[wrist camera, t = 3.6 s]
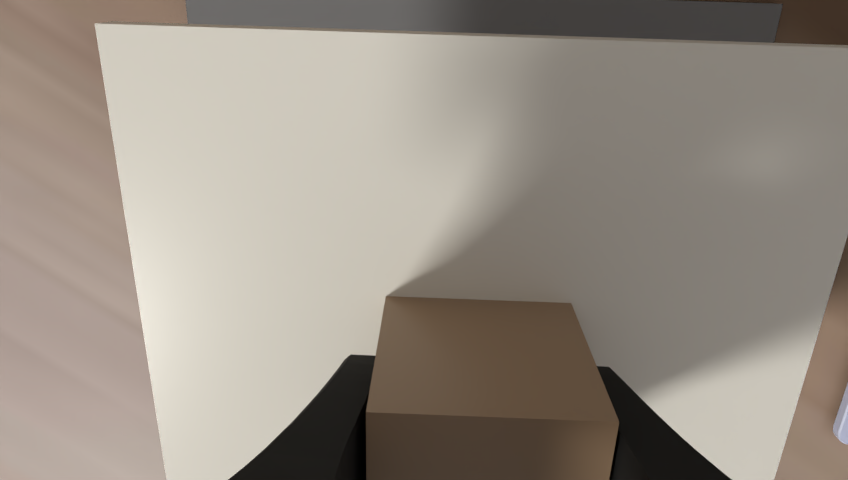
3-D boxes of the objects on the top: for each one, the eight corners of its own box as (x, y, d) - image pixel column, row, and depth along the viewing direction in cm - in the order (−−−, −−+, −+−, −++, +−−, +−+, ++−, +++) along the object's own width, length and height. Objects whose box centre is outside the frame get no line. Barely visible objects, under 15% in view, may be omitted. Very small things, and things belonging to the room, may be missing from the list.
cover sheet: (880, 46, 11) (1120, 82, 7) (721, 597, 16) (811, 794, 12) (112, 21, 11) (-65, 43, 7) (194, 575, 16) (115, 764, 12)
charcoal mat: (775, 3, 17) (782, 4, 17) (681, 426, 23) (685, 433, 22) (189, -16, 18) (183, -16, 17) (232, 404, 23) (228, 411, 23)
